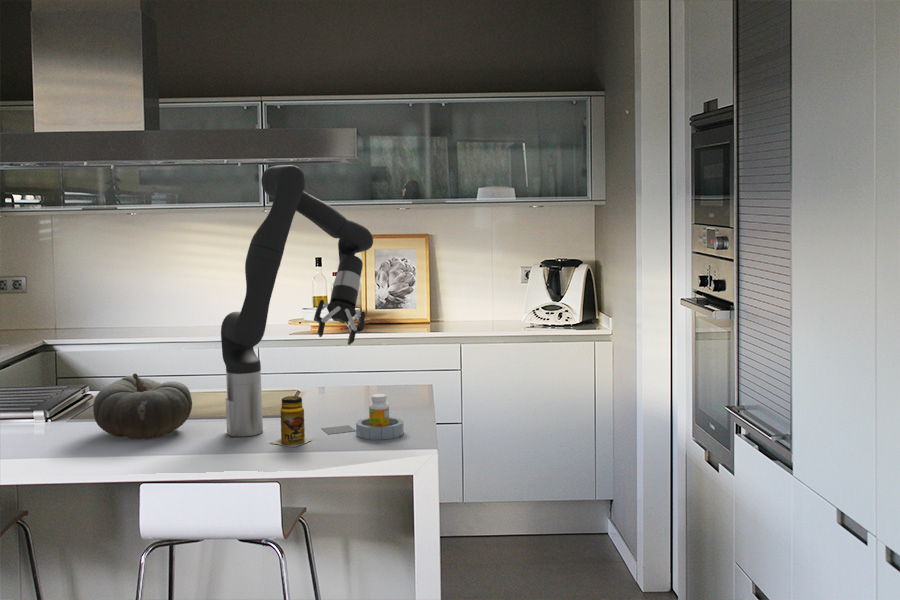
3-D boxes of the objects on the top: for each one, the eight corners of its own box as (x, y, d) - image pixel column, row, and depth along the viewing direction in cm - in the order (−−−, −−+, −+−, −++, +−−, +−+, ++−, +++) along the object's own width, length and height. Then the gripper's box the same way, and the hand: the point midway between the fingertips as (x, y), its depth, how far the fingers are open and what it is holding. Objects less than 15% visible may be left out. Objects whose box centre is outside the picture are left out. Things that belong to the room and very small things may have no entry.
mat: (328, 435, 233) (328, 433, 233) (321, 429, 239) (321, 428, 239) (356, 432, 236) (356, 430, 236) (348, 426, 243) (348, 425, 243)
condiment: (294, 447, 220) (293, 401, 219) (269, 443, 224) (267, 398, 223) (312, 440, 227) (311, 396, 225) (287, 437, 231) (285, 393, 229)
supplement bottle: (365, 431, 232) (365, 396, 231) (376, 427, 237) (375, 392, 236) (382, 434, 230) (382, 398, 229) (393, 429, 234) (392, 394, 233)
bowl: (365, 441, 225) (365, 429, 225) (351, 430, 236) (351, 419, 236) (409, 436, 230) (409, 424, 230) (393, 426, 241) (393, 414, 241)
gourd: (115, 412, 250) (120, 356, 246) (200, 426, 250) (206, 369, 246) (77, 444, 225) (81, 381, 222) (171, 459, 225) (177, 396, 222)
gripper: (325, 278, 247) (314, 329, 240) (372, 291, 251) (362, 342, 244) (319, 287, 253) (308, 337, 246) (365, 300, 257) (355, 350, 250)
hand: (335, 340), depth 245 cm, fingers open, 8 cm apart
